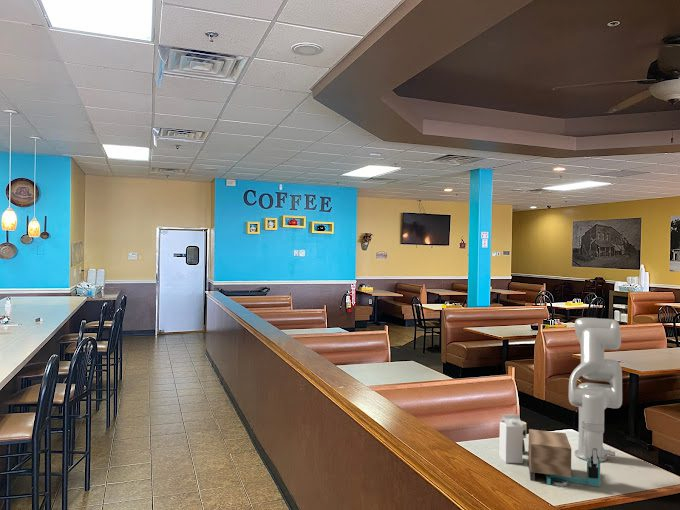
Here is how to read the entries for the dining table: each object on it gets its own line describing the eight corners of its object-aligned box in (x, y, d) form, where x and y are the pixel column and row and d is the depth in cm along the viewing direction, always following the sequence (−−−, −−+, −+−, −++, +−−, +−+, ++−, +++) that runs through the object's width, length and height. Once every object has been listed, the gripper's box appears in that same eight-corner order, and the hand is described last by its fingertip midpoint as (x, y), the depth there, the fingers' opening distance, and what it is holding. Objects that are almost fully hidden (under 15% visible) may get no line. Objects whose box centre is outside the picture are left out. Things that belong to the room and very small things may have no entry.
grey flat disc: (547, 480, 197) (547, 477, 197) (563, 481, 197) (563, 477, 197) (554, 487, 191) (554, 484, 191) (570, 487, 191) (570, 484, 191)
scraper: (596, 478, 200) (596, 452, 200) (602, 492, 186) (602, 464, 187) (544, 471, 206) (545, 445, 206) (547, 484, 192) (547, 457, 193)
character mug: (525, 457, 221) (525, 426, 221) (507, 454, 224) (508, 424, 224) (526, 449, 231) (527, 420, 232) (510, 447, 234) (510, 418, 234)
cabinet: (565, 468, 209) (565, 433, 210) (570, 487, 190) (571, 448, 191) (528, 463, 214) (528, 429, 214) (530, 481, 195) (531, 443, 195)
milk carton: (499, 457, 220) (499, 412, 221) (515, 457, 221) (515, 412, 221) (505, 463, 213) (506, 416, 214) (522, 463, 214) (523, 416, 214)
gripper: (579, 419, 203) (578, 467, 203) (584, 431, 188) (584, 482, 187) (600, 422, 201) (599, 469, 200) (607, 434, 186) (607, 486, 185)
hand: (592, 475), depth 194 cm, fingers closed on scraper, 3 cm apart
